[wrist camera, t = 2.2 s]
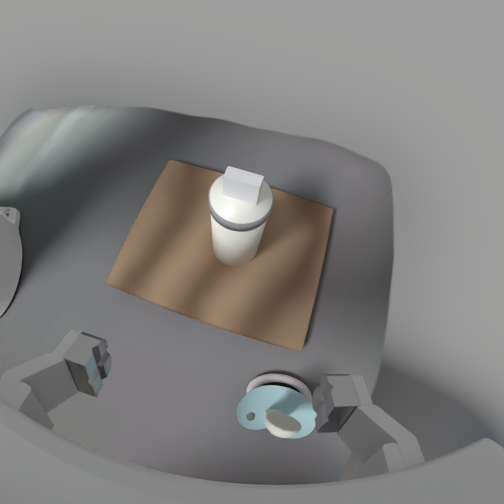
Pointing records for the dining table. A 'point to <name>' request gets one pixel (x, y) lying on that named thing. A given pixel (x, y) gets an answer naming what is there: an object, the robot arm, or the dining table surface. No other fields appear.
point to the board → (217, 273)
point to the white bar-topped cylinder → (238, 215)
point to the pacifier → (278, 407)
